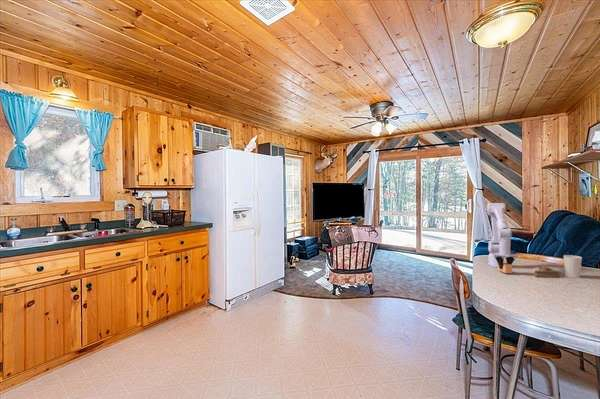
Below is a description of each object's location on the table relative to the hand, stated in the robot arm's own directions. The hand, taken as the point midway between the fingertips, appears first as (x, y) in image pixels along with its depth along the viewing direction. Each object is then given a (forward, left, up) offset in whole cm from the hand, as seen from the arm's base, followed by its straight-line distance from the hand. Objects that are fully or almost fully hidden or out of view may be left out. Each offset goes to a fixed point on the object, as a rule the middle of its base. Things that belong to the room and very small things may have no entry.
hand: (504, 268), depth 177 cm
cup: (+6, +35, -3) cm, 36 cm away
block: (0, 0, -2) cm, 2 cm away
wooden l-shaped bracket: (+2, +19, -3) cm, 19 cm away
